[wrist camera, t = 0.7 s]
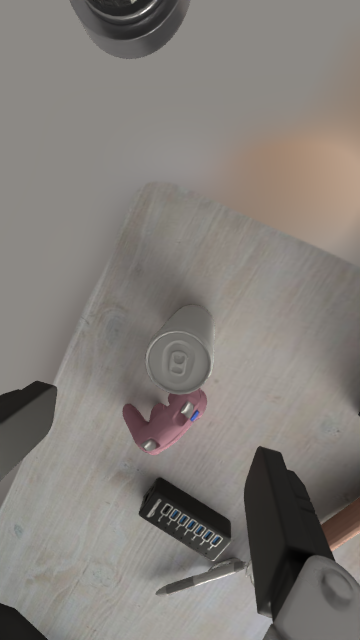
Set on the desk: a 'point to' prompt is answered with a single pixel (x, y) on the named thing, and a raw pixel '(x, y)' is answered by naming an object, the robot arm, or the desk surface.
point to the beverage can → (182, 351)
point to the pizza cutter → (335, 529)
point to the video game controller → (165, 421)
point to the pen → (203, 577)
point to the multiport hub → (186, 519)
